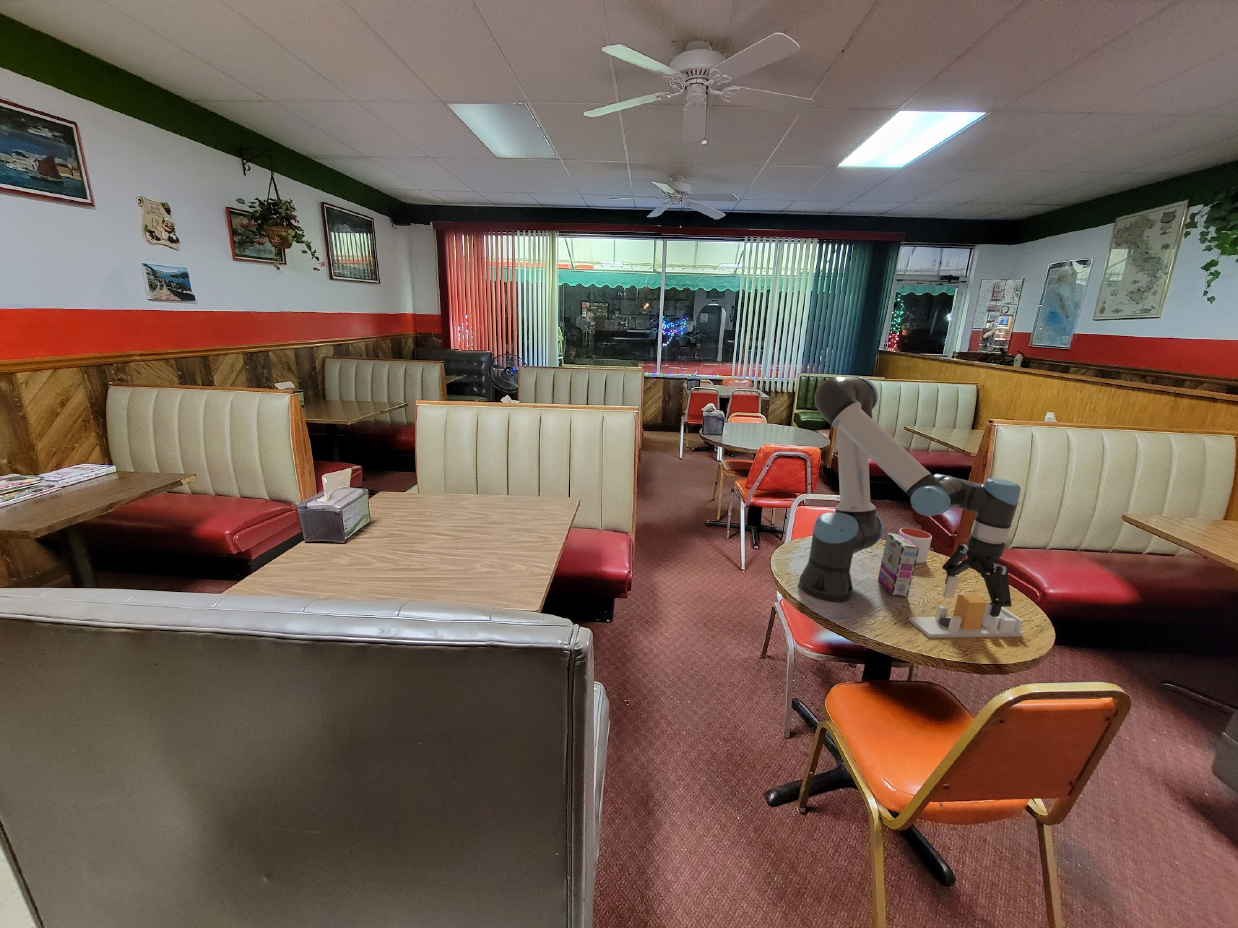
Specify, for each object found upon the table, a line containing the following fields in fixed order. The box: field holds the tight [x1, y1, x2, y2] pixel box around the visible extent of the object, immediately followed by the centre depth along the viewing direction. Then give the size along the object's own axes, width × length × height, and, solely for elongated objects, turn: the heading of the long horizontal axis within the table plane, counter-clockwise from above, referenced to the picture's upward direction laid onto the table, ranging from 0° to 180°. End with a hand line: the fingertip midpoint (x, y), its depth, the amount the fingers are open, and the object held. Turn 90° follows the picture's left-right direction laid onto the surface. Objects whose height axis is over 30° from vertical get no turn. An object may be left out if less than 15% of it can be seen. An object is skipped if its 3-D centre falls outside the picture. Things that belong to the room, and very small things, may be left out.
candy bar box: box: [877, 532, 919, 598], centre depth 151 cm, size 11×5×16 cm, turn 174°
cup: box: [898, 527, 933, 565], centre depth 175 cm, size 10×10×10 cm
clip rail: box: [908, 605, 1024, 639], centre depth 132 cm, size 27×8×5 cm, turn 95°
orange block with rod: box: [940, 594, 1009, 629], centre depth 132 cm, size 18×4×8 cm, turn 95°
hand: (966, 610), depth 132 cm, fingers open, 13 cm apart
